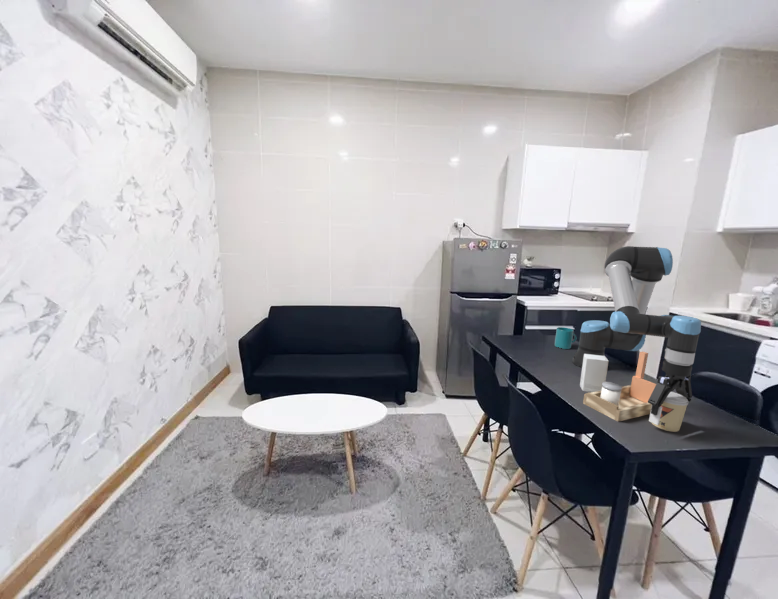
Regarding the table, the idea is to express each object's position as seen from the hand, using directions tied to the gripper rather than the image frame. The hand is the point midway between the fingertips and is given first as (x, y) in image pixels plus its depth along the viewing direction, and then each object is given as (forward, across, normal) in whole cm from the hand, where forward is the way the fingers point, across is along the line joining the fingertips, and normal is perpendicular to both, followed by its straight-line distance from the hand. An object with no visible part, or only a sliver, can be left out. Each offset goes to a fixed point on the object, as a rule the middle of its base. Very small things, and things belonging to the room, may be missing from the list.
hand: (666, 419), depth 118 cm
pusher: (+2, -13, -14) cm, 19 cm away
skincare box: (+3, -1, -29) cm, 29 cm away
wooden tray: (+3, -1, -14) cm, 14 cm away
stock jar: (+2, +9, -14) cm, 17 cm away
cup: (+2, -42, -78) cm, 89 cm away
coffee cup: (+3, 0, 0) cm, 3 cm away
